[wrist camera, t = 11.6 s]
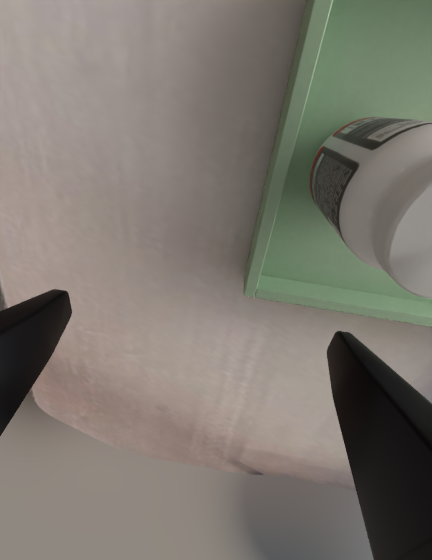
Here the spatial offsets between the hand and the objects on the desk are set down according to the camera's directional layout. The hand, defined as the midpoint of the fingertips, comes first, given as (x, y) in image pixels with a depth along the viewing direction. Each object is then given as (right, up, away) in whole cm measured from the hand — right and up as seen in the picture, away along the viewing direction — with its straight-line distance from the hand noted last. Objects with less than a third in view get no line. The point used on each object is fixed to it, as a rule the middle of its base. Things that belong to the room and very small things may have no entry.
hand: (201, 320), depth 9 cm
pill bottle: (+9, +8, +7) cm, 14 cm away
